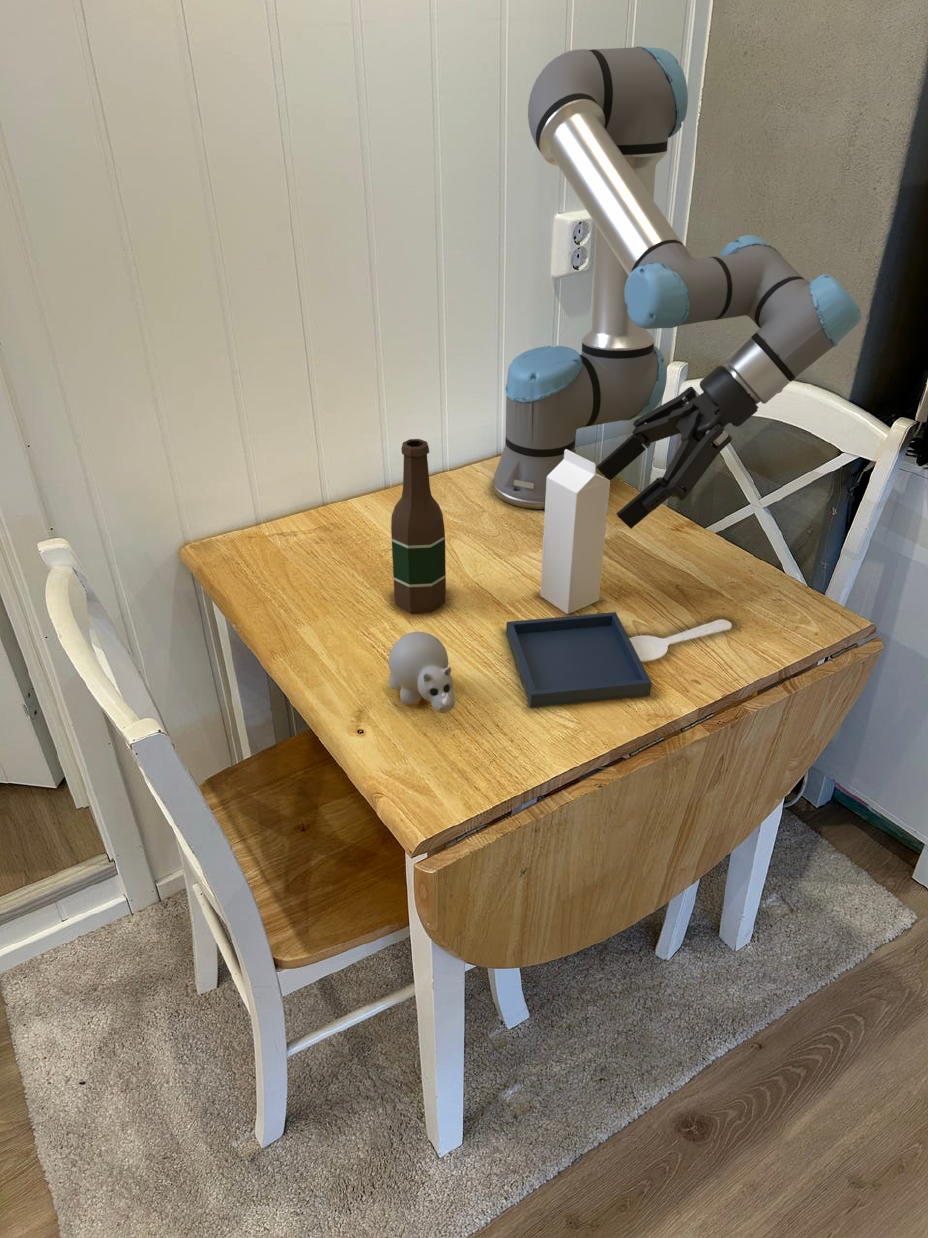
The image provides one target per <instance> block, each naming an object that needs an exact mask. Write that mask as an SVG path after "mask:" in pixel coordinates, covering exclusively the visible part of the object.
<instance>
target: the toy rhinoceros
mask: <svg viewBox="0 0 928 1238" xmlns="http://www.w3.org/2000/svg"><path fill="white" fill-rule="evenodd" d="M388 670H389V672H390V673H389V676H388V685H389V687H390V688H391V689H392V690H395V691H399V697H400V699H399V700H400V702H401V703H402V704H403V705H405V706H411V707H412V706H416V705H418V704H419V703H420V702H421V700H422V699H424V700H426V701H428V702H429V703H431V706H432V708H433V710H434V711H435V712H437V713H439V714H448V713H450V712H451V711H452V710H453V709H454V707H455V705H456V699H455V696H454V695H455V694H454V679H453V676H452V675H451V672H452V668H451V666H449V656H448V652H447V649H446V647H445V645H444V644H443V643H442V642H441V640H440V639H439V638H437V637H436V636H435V635H433V634H432V633H428V632H425V631H413V632H408V633H406V634H404V635H402V636H401V637H399V638H398V639H396V641H395V642H394V644H393V645H392V647H391V649H390V651H389V653H388Z"/></svg>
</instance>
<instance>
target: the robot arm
mask: <svg viewBox="0 0 928 1238" xmlns="http://www.w3.org/2000/svg"><path fill="white" fill-rule="evenodd" d="M688 105H689V91H688V84H687V79H686V75H685V72H684V70H683V67H682V66H681V65H680V64H679V61H678V59H677V58H676V56H675V55H673V54H672V53H671V52H670V51H668V50H667V49H664V48H660V47H650V46H649V47H648V46H641V45H638V46H634V47H633V46H632V47H616V48H615V47H614V48H595V49H594V48H592V49H587V48H581V49H572V50H568V51H566V52H563V53H561V54H560V55H558V56H556V57H554V58H553V59H552V60H551V61H549V62H548V63H547V64H546V65H545V66H544V67H543V69H542V70H541V72H540V73H539V75H538V76H537V78H536V79H535V81H534V83H533V85H532V88H531V92H530V94H529V99H528V104H527V121H528V127H529V132H530V135H531V137H532V140H533V142H534V144H535V145H536V148H537V149H538V151H539V153H540V155H542V158H543V159H544V160H545V162H547V163H548V164H550V165H552V166H555V167H558V168H559V169H560V171H561V172H562V174H563V176H564V178H565V179H566V181H567V182H568V183H569V185H570V187H571V188H572V190H573V191H574V193H575V194H576V196H577V198H578V199H579V201H580V202H581V204H582V205H583V207H584V209H585V210H586V211H587V214H588V215H589V217H590V218H591V220H592V222H593V223H594V224H595V225H594V227H595V228H594V229H595V230H594V234H595V235H594V253H593V254H594V255H593V257H594V258H593V282H592V283H593V284H592V285H593V286H592V314H591V315H592V316H591V328H590V329H589V331H588V332H587V333H586V334H584V336H583V337H582V339H581V353H579V352H578V351H577V350H576V349H574V348H571V347H568V346H564V345H563V346H562V345H556V346H551V345H545V346H539V347H535V348H531V349H528V350H526V351H523V352H521V353H519V354H518V355H516V356H515V358H513V360H512V361H511V363H510V364H509V366H508V369H507V377H506V384H505V396H506V397H505V399H506V400H505V440H504V441H505V444H504V448H503V451H502V452H501V453H502V454H501V457H500V459H499V462H498V464H497V467H496V469H495V471H494V476H493V492H494V494H495V495H496V496H497V497H498V498H499V499H500V500H502V501H503V502H505V503H507V504H510V505H513V506H515V507H518V508H523V509H531V510H545V498H546V480H547V476H548V475H549V474H550V473H551V472H552V471H553V470H554V469H555V468H556V467H557V466H558V465H559V463H560V462H561V461H562V460H563V459H564V451H565V449H567V450H569V451H571V452H573V453H575V454H577V451H576V437H577V430H579V429H582V428H589V427H593V426H599V425H604V424H609V423H615V422H621V421H623V422H625V421H631V420H633V419H635V420H634V421H633V423H632V425H633V427H634V429H633V430H632V434H631V435H630V436H629V437H628V438H627V439H626V440H625V441H623V442H622V443H621V444H620V445H619V446H618V447H616V448H615V449H614V450H613V451H612V452H611V453H610V454H609V455H608V456H607V457H606V458H604V459H603V460H602V461H601V462H600V463H599V464H597V465H596V470H598V472H600V474H602V475H603V477H604V478H606V479H608V480H610V482H611V481H612V480H613V479H614V478H615V477H617V476H618V474H620V473H621V472H623V470H624V469H625V468H627V467H628V466H629V465H631V463H632V462H634V461H635V460H636V459H637V458H638V457H639V456H640V455H642V454H643V453H644V452H645V451H647V449H649V448H650V446H651V444H652V443H655V442H658V441H662V440H664V439H667V438H670V437H674V436H676V435H679V434H680V435H681V436H680V441H681V443H680V445H679V446H678V448H677V450H676V452H675V454H674V456H673V458H672V459H671V462H670V463H669V465H668V467H667V469H666V470H665V472H664V474H663V476H662V477H661V476H660V477H656V478H655V479H654V480H653V481H652V482H651V483H650V484H649V485H648V486H646V487H645V488H644V489H643V490H642V491H641V492H639V493H638V494H637V495H636V496H635V497H633V498H632V499H631V500H630V501H629V502H627V503H626V504H625V506H623V507H622V508H621V509H620V510H618V511H617V512H616V516H617V518H619V519H620V520H621V521H622V522H623V523H624V524H625V525H626V526H627V527H628V528H629V529H630V530H632V529H633V528H634V527H635V526H637V525H638V524H639V523H641V521H643V520H644V519H645V518H646V517H647V516H648V515H649V514H651V513H652V512H654V511H655V510H656V509H657V508H658V507H660V505H662V504H663V503H664V502H666V501H667V500H668V499H669V498H671V497H672V498H674V497H676V498H677V499H678V500H679V501H683V500H685V499H686V498H687V497H688V496H689V494H690V493H691V492H692V490H693V489H694V487H695V486H696V485H697V484H698V483H699V481H700V480H701V478H702V476H703V475H704V474H705V472H706V471H707V470H708V469H709V467H710V466H711V464H712V463H713V462H714V460H715V459H716V458H717V456H718V454H720V452H721V451H722V450H724V449H725V448H726V447H727V446H728V445H729V444H730V443H731V442H732V440H733V437H732V436H731V434H730V433H728V431H727V430H726V429H725V428H726V426H727V425H728V424H731V425H732V426H733V427H737V428H738V427H740V426H742V425H743V424H744V423H745V422H747V420H749V419H750V418H751V417H752V416H753V415H755V414H756V413H757V412H758V411H759V410H758V409H759V408H760V407H759V406H758V404H759V403H761V404H765V405H766V404H767V403H768V402H769V401H770V400H772V399H773V398H774V397H775V396H776V395H777V394H780V393H782V392H783V389H785V388H786V387H787V386H788V385H789V384H790V383H792V382H793V381H794V380H795V379H797V377H798V376H799V375H801V374H802V373H803V372H804V371H805V370H806V369H808V368H810V367H811V366H812V365H813V364H814V363H815V362H817V361H818V360H819V359H820V358H821V357H823V356H824V355H826V353H828V352H829V351H831V350H832V349H833V348H836V346H838V345H839V342H840V341H842V340H843V339H844V337H846V336H847V335H848V334H849V333H850V332H851V331H853V329H854V328H855V327H857V326H858V324H860V322H861V320H862V311H861V308H860V306H859V305H858V303H857V301H856V300H855V299H854V298H853V296H852V295H851V294H850V293H849V291H847V289H846V288H845V287H844V286H843V285H842V284H841V283H840V282H839V280H837V279H836V278H834V277H833V276H832V275H831V274H828V273H823V274H821V275H819V276H818V277H816V278H815V279H813V280H810V281H809V280H807V279H805V277H804V276H802V275H801V273H800V272H799V271H798V270H797V269H796V268H795V267H794V266H793V265H792V264H791V263H790V262H789V261H788V260H787V259H786V258H785V257H784V256H783V255H782V253H781V252H780V251H779V250H778V249H776V247H774V246H772V245H770V244H769V243H768V242H767V241H766V240H764V239H763V237H761V236H758V235H755V234H746V235H741V236H739V237H738V239H737V240H735V241H731V242H729V243H728V244H726V246H725V247H724V248H723V249H722V250H721V252H720V253H719V255H716V256H708V257H700V258H699V257H698V258H695V257H693V256H692V253H690V251H689V250H688V248H687V246H685V245H684V243H683V242H682V240H681V239H680V238H679V236H678V235H677V232H675V230H674V229H673V227H672V225H671V224H670V223H669V221H668V220H667V218H666V216H665V215H664V213H663V212H662V210H661V209H660V208H659V206H658V205H657V203H656V201H655V200H654V198H655V183H656V169H657V168H656V167H657V165H658V163H659V162H660V161H661V160H662V159H663V158H664V157H665V156H666V155H667V153H668V146H669V145H668V143H669V139H670V138H671V137H673V136H674V135H676V134H677V133H678V132H679V131H680V130H681V128H682V127H683V122H685V120H686V117H687V112H688ZM743 316H746V317H748V318H749V319H750V320H751V321H752V322H753V323H754V324H755V326H757V327H758V330H756V331H755V333H754V334H752V335H751V336H750V337H748V338H747V339H746V340H745V341H744V342H743V343H741V344H740V346H738V347H737V348H736V349H735V350H733V351H732V352H731V354H729V355H728V356H727V357H726V358H725V362H726V364H725V365H722V364H721V365H717V366H716V367H715V368H713V370H712V371H710V372H709V373H708V374H707V375H706V376H704V377H703V379H701V380H700V381H699V388H700V389H701V391H703V392H701V393H698V391H697V390H696V389H695V388H694V386H688V387H687V388H686V389H685V390H684V391H683V392H681V393H679V394H678V395H677V396H676V397H674V398H672V399H670V400H668V401H667V402H665V403H663V404H661V405H659V404H660V403H661V401H662V399H663V397H664V394H665V390H666V386H667V381H668V372H667V369H668V368H667V365H666V364H664V361H665V357H664V354H663V352H662V351H661V350H660V348H658V347H657V346H655V338H654V336H653V335H652V334H651V333H650V332H649V331H648V330H654V329H657V330H658V329H673V328H677V327H679V326H685V325H686V326H687V325H691V324H697V323H704V322H708V321H717V320H727V319H731V318H738V317H743Z"/></svg>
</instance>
